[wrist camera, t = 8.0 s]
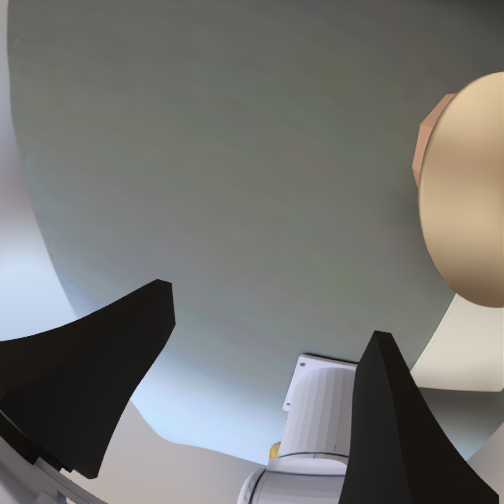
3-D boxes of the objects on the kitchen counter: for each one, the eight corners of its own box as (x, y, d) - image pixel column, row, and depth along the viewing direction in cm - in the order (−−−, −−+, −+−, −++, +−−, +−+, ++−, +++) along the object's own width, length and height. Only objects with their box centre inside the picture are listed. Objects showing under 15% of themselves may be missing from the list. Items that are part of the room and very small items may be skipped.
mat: (498, 387, 21) (500, 391, 20) (404, 380, 23) (404, 385, 23) (565, 290, 14) (568, 294, 14) (470, 262, 17) (473, 267, 16)
